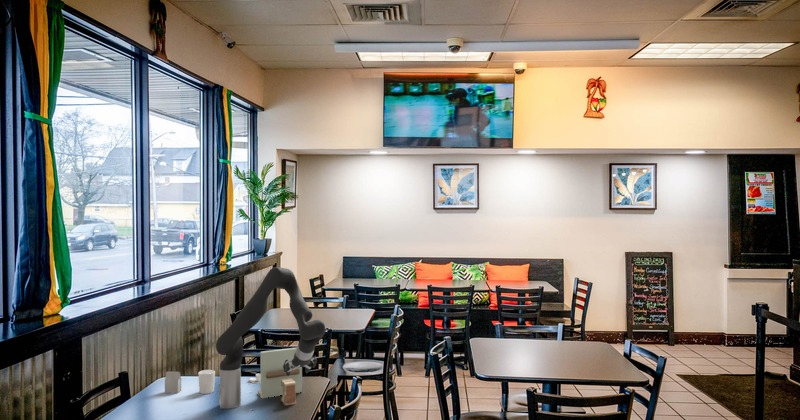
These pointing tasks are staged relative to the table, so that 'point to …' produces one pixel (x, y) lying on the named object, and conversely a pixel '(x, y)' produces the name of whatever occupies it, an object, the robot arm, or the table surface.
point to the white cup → (206, 381)
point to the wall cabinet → (288, 391)
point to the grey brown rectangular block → (172, 382)
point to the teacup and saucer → (258, 378)
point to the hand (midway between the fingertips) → (297, 372)
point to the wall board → (277, 372)
